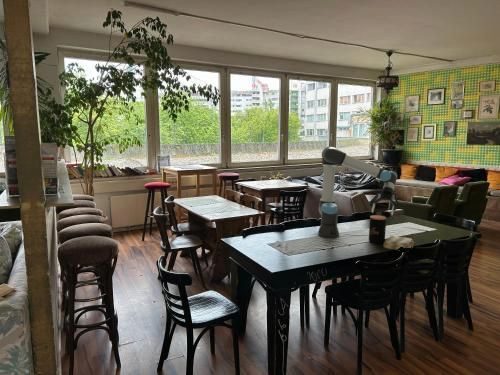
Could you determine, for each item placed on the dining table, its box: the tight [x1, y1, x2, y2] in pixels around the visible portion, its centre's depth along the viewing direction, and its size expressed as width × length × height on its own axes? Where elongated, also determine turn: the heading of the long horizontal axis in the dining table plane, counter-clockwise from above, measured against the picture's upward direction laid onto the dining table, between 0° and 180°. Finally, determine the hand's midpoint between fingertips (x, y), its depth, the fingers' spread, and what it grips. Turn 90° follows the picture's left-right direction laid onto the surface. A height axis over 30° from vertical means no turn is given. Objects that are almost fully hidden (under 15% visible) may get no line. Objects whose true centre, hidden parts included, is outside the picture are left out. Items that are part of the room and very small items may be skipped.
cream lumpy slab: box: [383, 235, 415, 251], centre depth 246 cm, size 16×16×5 cm
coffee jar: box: [368, 214, 387, 245], centre depth 254 cm, size 11×11×18 cm
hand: (381, 212), depth 261 cm, fingers open, 13 cm apart
